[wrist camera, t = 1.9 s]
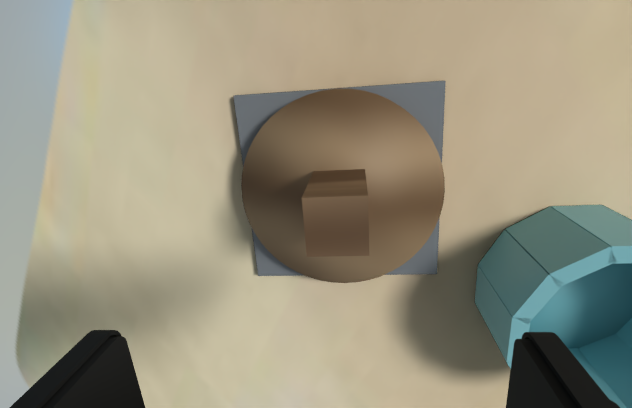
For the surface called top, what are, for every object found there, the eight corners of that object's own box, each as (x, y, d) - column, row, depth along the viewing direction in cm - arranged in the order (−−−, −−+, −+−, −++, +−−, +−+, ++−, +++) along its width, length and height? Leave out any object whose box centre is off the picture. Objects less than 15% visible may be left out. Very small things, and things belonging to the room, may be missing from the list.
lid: (233, 95, 21) (189, 102, 16) (445, 80, 20) (481, 82, 14) (258, 275, 25) (230, 333, 19) (436, 274, 24) (462, 335, 18)
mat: (235, 95, 22) (233, 95, 21) (443, 80, 20) (445, 80, 20) (259, 272, 25) (258, 275, 25) (435, 271, 24) (436, 274, 24)
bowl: (482, 208, 22) (521, 247, 17) (674, 202, 21) (779, 243, 16) (470, 349, 26) (499, 417, 21) (635, 351, 24) (709, 424, 19)
